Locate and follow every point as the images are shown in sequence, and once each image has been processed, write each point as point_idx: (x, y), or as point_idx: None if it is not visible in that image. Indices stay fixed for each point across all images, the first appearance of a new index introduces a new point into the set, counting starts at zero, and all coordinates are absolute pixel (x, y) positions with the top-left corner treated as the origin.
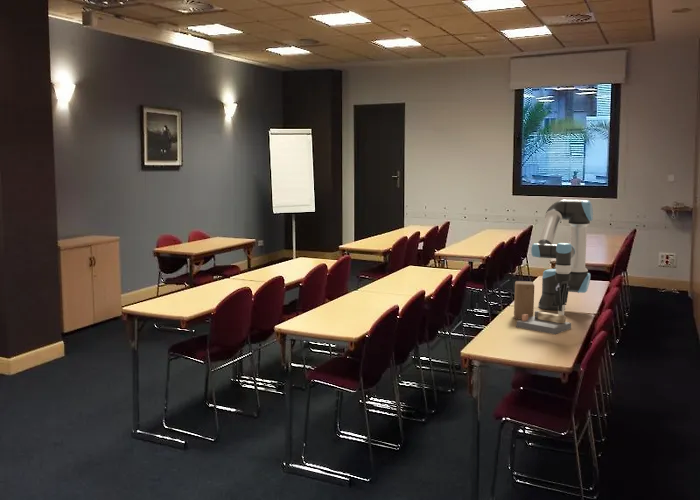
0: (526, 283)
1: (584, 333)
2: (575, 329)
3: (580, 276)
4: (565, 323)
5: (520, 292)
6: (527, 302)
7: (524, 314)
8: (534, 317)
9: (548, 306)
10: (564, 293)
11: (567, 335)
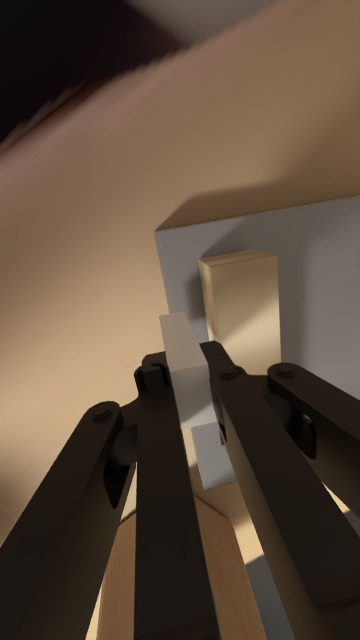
0: None
1: (201, 51)
2: (149, 190)
3: None
4: (214, 245)
5: None
6: (221, 620)
7: None
8: (228, 463)
9: None
10: (205, 577)
11: (351, 111)
